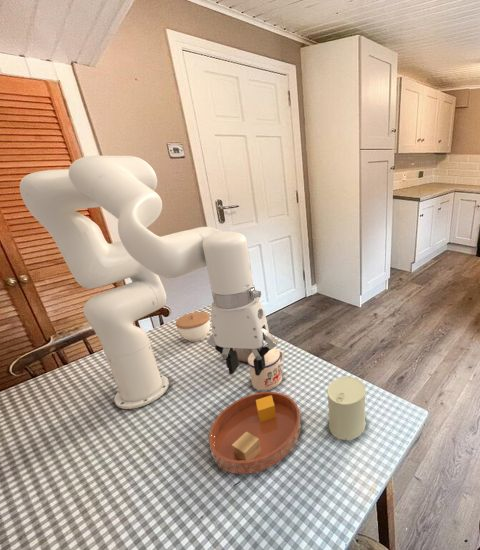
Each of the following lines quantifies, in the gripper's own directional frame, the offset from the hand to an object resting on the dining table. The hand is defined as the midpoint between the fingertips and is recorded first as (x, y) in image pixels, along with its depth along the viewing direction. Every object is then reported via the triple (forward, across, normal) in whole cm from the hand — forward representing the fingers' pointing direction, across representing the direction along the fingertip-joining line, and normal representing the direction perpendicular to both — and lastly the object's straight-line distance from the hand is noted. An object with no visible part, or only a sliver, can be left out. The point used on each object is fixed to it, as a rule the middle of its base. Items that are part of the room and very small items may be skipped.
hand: (247, 369), depth 66 cm
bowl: (+19, 0, 0) cm, 19 cm away
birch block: (+19, 0, +6) cm, 20 cm away
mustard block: (+19, 0, -6) cm, 20 cm away
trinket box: (+20, +40, -40) cm, 59 cm away
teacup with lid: (+20, +4, -20) cm, 28 cm away
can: (+20, -21, -4) cm, 29 cm away
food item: (+20, +17, -30) cm, 39 cm away
